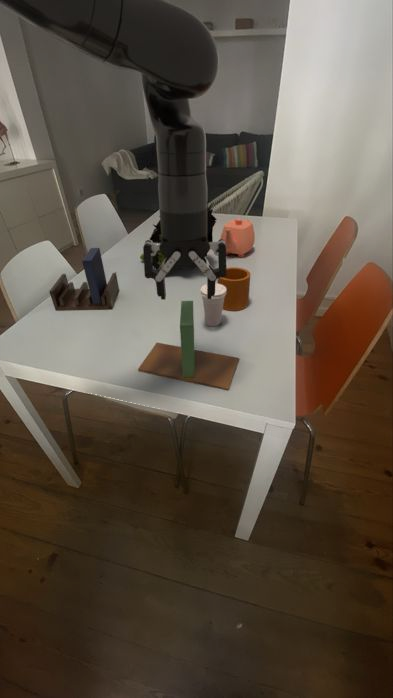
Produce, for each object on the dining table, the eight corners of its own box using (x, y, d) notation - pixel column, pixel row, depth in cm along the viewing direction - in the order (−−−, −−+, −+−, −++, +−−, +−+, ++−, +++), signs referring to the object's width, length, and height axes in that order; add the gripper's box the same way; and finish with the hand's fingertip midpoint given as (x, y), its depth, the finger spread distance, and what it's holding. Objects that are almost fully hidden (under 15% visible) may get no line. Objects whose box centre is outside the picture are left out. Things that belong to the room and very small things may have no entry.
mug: (259, 297, 93) (262, 268, 88) (237, 314, 86) (239, 284, 80) (233, 288, 98) (235, 260, 92) (210, 304, 90) (211, 275, 85)
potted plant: (129, 276, 109) (147, 202, 84) (150, 237, 121) (171, 163, 97) (186, 302, 112) (219, 238, 88) (201, 261, 125) (234, 195, 100)
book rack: (55, 310, 89) (49, 291, 85) (67, 292, 98) (62, 273, 94) (112, 309, 89) (108, 290, 85) (119, 291, 98) (116, 272, 94)
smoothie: (205, 314, 86) (205, 265, 78) (228, 318, 84) (230, 268, 76) (197, 326, 82) (196, 276, 73) (221, 331, 80) (223, 279, 71)
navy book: (93, 304, 89) (81, 260, 81) (100, 289, 96) (90, 247, 88) (101, 304, 89) (91, 260, 81) (108, 289, 96) (99, 247, 88)
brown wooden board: (138, 371, 68) (137, 369, 68) (156, 344, 76) (156, 342, 76) (228, 390, 63) (228, 388, 63) (239, 359, 71) (239, 357, 70)
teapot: (231, 241, 130) (233, 210, 122) (259, 246, 125) (263, 214, 118) (210, 259, 116) (210, 225, 109) (240, 264, 112) (243, 230, 104)
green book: (183, 377, 66) (179, 325, 58) (184, 350, 73) (181, 300, 65) (194, 377, 66) (193, 325, 58) (194, 350, 73) (193, 300, 65)
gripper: (134, 212, 46) (146, 308, 56) (231, 210, 46) (226, 307, 56) (140, 199, 52) (150, 288, 62) (227, 198, 52) (223, 287, 62)
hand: (186, 297), depth 59 cm, fingers open, 8 cm apart
